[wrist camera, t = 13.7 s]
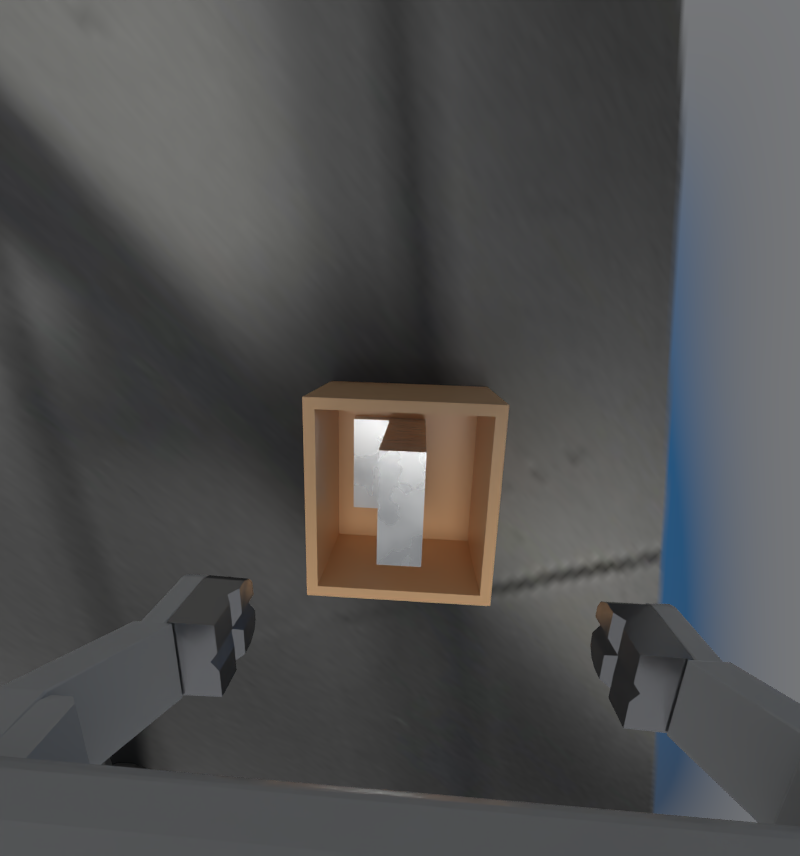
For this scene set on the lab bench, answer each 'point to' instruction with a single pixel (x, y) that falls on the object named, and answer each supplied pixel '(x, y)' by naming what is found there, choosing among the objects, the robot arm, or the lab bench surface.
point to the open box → (443, 503)
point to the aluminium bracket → (392, 483)
